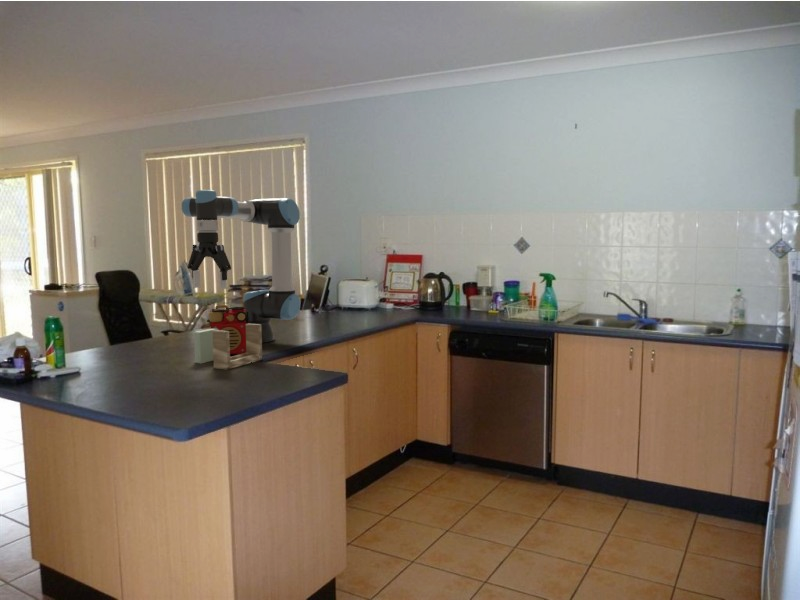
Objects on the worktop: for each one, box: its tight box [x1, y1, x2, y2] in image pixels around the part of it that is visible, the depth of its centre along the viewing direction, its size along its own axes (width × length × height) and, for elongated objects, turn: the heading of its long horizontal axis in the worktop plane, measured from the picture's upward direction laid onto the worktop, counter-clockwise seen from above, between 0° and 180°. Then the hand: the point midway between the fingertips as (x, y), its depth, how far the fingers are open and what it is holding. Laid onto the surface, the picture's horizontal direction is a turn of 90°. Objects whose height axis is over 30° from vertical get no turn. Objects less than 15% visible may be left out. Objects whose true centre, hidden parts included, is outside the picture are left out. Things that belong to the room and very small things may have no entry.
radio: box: [208, 304, 249, 355], centre depth 259 cm, size 16×10×20 cm, turn 105°
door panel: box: [193, 328, 219, 364], centre depth 245 cm, size 10×3×12 cm, turn 153°
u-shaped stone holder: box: [212, 323, 263, 371], centre depth 239 cm, size 20×6×14 cm, turn 153°
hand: (209, 288), depth 238 cm, fingers open, 13 cm apart
